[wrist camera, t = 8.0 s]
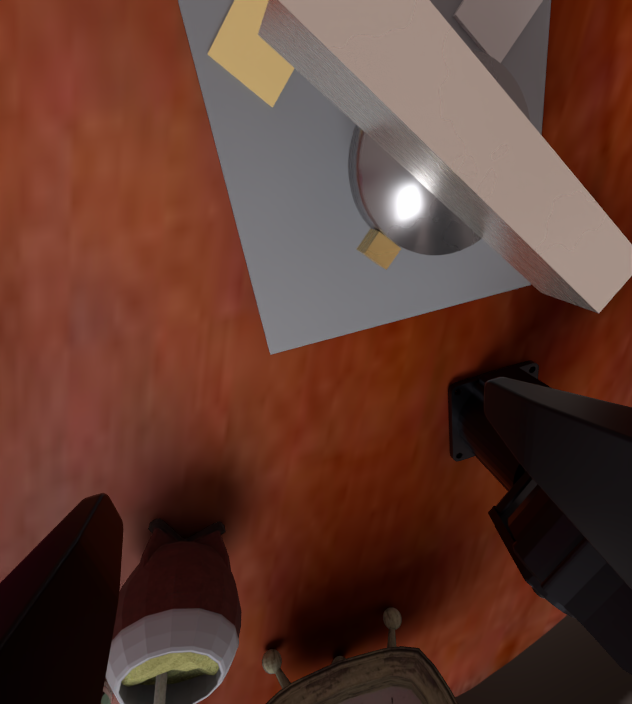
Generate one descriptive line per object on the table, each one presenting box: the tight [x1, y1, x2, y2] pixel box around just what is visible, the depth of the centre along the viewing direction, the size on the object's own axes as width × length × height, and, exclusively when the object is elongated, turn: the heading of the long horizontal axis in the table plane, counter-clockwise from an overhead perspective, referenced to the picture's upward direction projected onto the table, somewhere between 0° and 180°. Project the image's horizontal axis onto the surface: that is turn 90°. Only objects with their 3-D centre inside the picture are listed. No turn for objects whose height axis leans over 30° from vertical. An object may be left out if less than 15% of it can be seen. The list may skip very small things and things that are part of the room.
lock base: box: [178, 0, 551, 354], centre depth 18 cm, size 16×16×4 cm
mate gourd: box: [106, 518, 241, 704], centre depth 20 cm, size 8×8×15 cm
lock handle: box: [258, 0, 632, 313], centre depth 14 cm, size 15×8×5 cm, turn 55°
